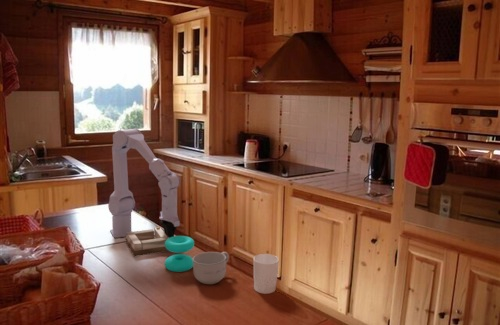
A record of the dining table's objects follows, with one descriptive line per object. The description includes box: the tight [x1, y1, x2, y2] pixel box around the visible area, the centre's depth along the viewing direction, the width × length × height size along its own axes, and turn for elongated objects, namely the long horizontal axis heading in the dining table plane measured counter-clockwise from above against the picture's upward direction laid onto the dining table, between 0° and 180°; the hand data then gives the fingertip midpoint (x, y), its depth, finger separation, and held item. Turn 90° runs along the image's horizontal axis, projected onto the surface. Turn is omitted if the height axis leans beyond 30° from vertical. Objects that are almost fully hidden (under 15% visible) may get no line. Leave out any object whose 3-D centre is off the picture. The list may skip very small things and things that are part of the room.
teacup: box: [192, 251, 230, 285], centre depth 138 cm, size 14×11×8 cm
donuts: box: [164, 235, 195, 273], centre depth 145 cm, size 10×10×10 cm
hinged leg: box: [153, 226, 167, 238], centre depth 166 cm, size 10×2×3 cm, turn 25°
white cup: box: [252, 253, 280, 295], centre depth 132 cm, size 8×8×10 cm
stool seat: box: [125, 228, 170, 257], centre depth 163 cm, size 14×14×4 cm
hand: (169, 238), depth 165 cm, fingers closed
